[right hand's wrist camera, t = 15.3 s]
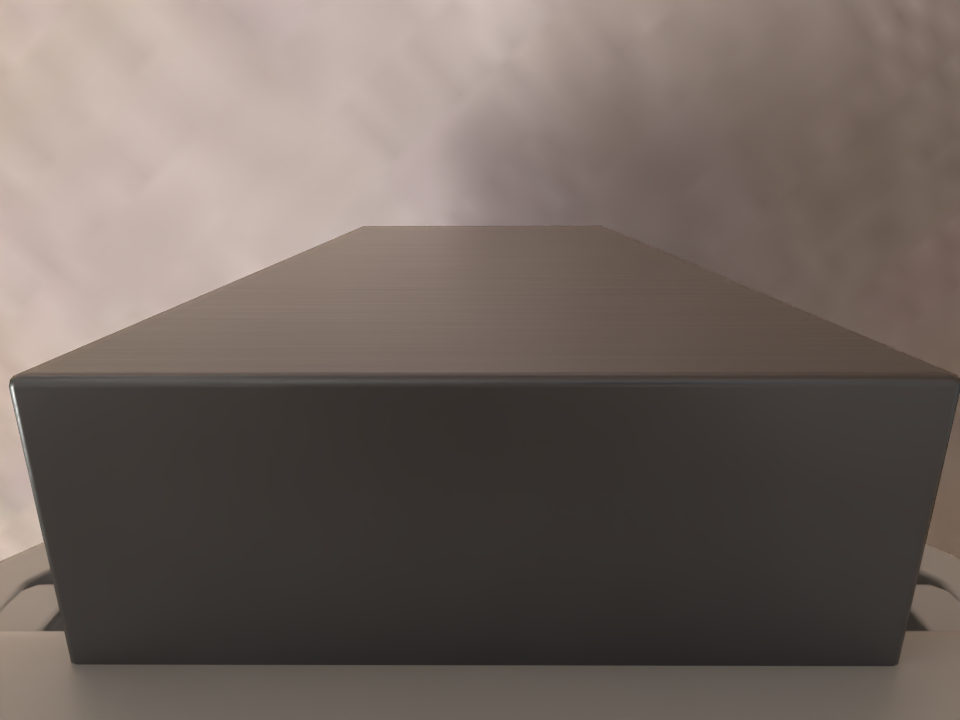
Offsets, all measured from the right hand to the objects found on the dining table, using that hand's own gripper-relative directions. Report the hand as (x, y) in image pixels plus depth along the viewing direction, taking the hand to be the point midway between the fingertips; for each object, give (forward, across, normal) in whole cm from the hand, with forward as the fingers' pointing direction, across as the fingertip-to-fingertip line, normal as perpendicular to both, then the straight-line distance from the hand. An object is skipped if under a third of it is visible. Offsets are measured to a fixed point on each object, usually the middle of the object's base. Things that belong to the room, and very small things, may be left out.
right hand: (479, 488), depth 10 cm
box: (+6, 0, +10) cm, 12 cm away
